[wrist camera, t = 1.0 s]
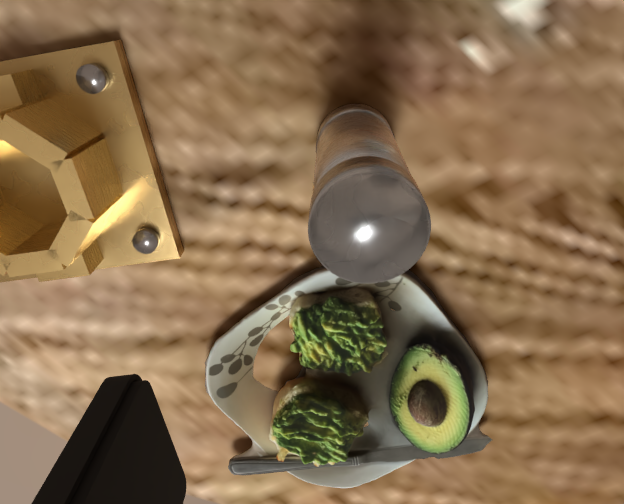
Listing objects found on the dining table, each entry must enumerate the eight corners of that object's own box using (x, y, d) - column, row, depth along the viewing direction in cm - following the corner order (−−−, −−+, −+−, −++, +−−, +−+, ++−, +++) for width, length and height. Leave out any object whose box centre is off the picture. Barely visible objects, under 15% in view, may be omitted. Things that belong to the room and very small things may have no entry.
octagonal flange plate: (121, 39, 26) (77, 47, 22) (183, 250, 31) (159, 292, 27) (-95, 78, 27) (-178, 93, 23) (0, 275, 33) (-53, 319, 28)
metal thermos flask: (388, 97, 27) (426, 162, 16) (395, 172, 29) (434, 275, 18) (311, 110, 28) (298, 181, 17) (322, 183, 29) (318, 290, 18)
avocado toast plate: (298, 513, 42) (294, 569, 38) (145, 366, 36) (120, 414, 32) (519, 410, 36) (543, 462, 32) (382, 216, 30) (390, 251, 26)
